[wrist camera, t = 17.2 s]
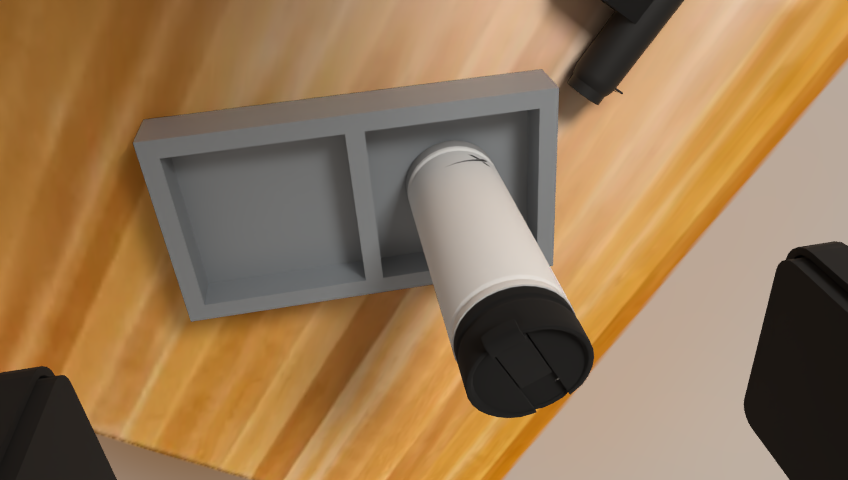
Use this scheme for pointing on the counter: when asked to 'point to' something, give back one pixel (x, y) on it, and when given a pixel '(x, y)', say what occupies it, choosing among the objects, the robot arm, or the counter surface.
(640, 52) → the door handle
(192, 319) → the grey compartment tray
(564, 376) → the travel mug
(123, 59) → the counter surface
